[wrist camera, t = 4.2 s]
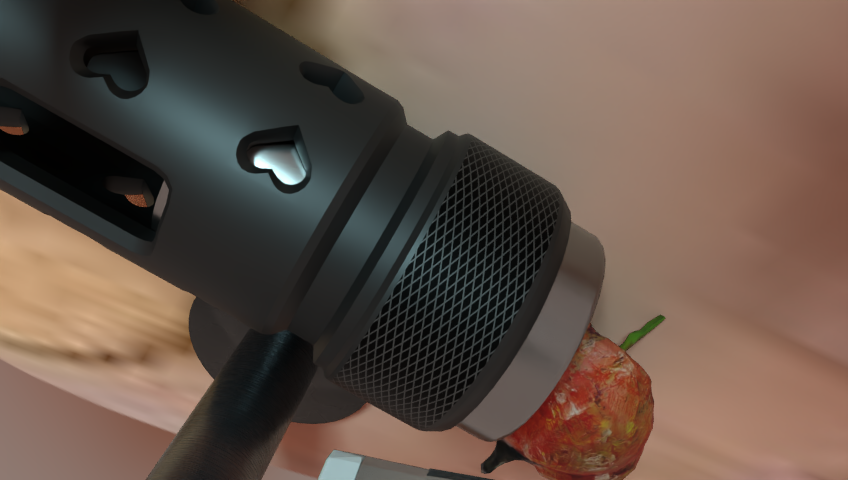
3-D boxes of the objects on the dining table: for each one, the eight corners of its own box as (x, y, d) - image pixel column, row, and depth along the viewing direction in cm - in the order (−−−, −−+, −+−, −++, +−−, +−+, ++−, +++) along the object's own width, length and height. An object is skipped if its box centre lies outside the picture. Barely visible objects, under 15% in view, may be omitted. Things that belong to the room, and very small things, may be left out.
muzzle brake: (-68, -259, 22) (-487, -310, 13) (618, 165, 25) (629, 345, 16) (-75, -6, 27) (-378, 71, 19) (488, 319, 30) (445, 515, 21)
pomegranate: (593, 223, 28) (403, 348, 27) (726, 298, 22) (493, 466, 21) (626, 339, 32) (462, 454, 31) (747, 429, 26) (552, 580, 24)
